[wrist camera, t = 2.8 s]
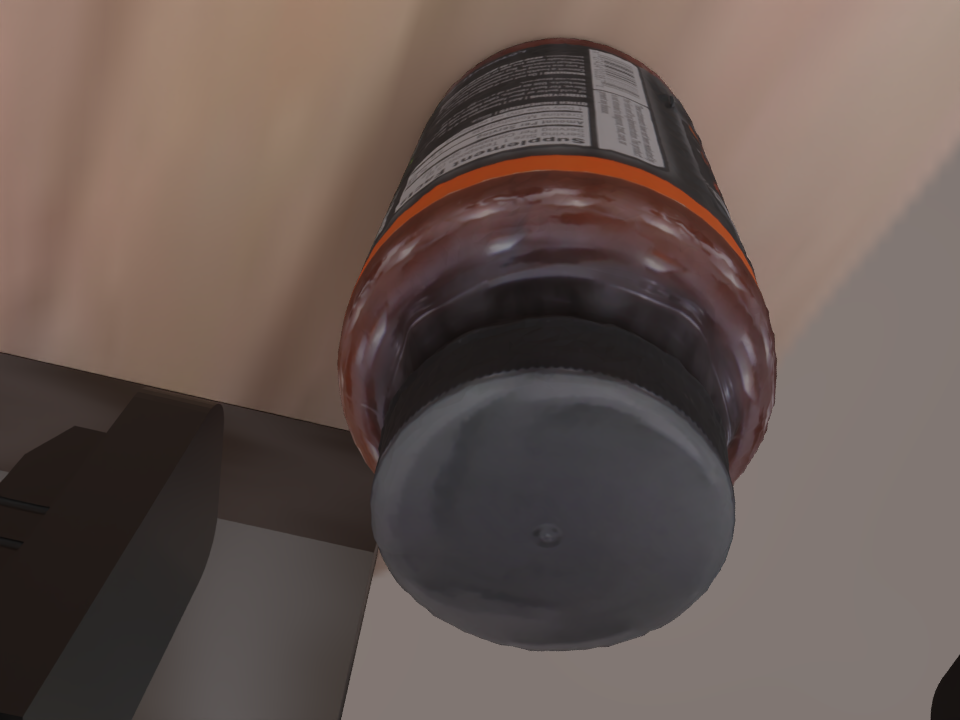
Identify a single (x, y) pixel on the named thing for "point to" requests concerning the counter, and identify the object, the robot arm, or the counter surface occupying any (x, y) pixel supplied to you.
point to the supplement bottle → (557, 356)
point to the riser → (240, 553)
